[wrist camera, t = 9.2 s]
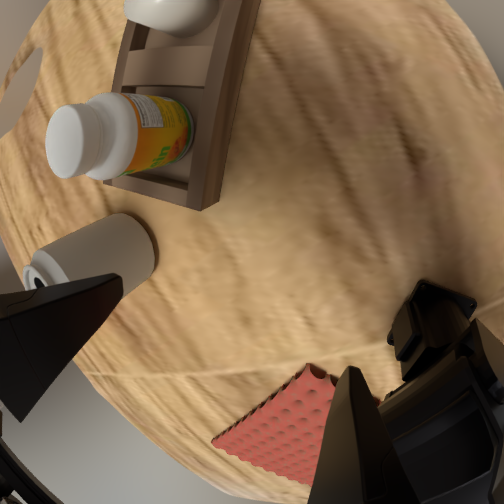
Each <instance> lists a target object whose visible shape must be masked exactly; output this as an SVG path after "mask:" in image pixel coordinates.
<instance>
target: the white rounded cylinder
mask: <svg viewBox="0 0 504 504" xmlns="http://www.w3.org/2000/svg"><path fill="white" fill-rule="evenodd" d="M218 6H219V5H218V0H125V2H124V13H125V16H126V17H127V18H128V19H129V20H131V21H134V22H136V23H139V24H142V25H145V26H148V27H150V28H153V29H156V30H158V31H161V32H163V33H166V34H168V35H171V36H173V37H176V38H189V37H192V36H195V35H197V34H199V33H200V32H202V31H203V30H205V29H206V28H207V27H208V26H209V25H210V24H211V23H212V22H213V20H214V19H215V17H216V15H217V12H218Z"/></svg>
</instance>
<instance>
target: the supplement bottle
mask: <svg viewBox="0 0 504 504" xmlns="http://www.w3.org/2000/svg"><path fill="white" fill-rule="evenodd" d="M193 135H194V124H193V119H192V116H191V114H190V112H189V110H188V109H187V107H186V106H185V105H184V104H182V103H181V102H179V101H178V100H175V99H172V98H167V97H159V96H150V95H142V94H129V93H115V92H111V93H101V94H98V95H96V96H94V97H92V98H91V99H89V100H88V101H87V102H86V103H85V104H82V103H80V104H71V105H64V106H61V107H60V108H58V109H57V110H56V111H55V113H54V114H53V116H52V117H51V120H50V122H49V125H48V128H47V133H46V154H47V159H48V162H49V165H50V167H51V169H52V170H53V172H54V173H55V174H56V175H57V176H58V177H60V178H64V179H66V178H71V177H75V176H79V175H82V174H86V175H87V176H89V177H91V178H93V179H96V180H108V179H112V178H116V177H120V176H123V175H127V174H131V173H135V172H139V171H143V170H147V169H152V168H156V167H161V166H166V165H169V164H172V163H175V162H176V161H178V160H179V159H181V158H182V157H183V156H184V155H185V154H186V152H187V151H188V149H189V147H190V145H191V143H192V140H193Z"/></svg>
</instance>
